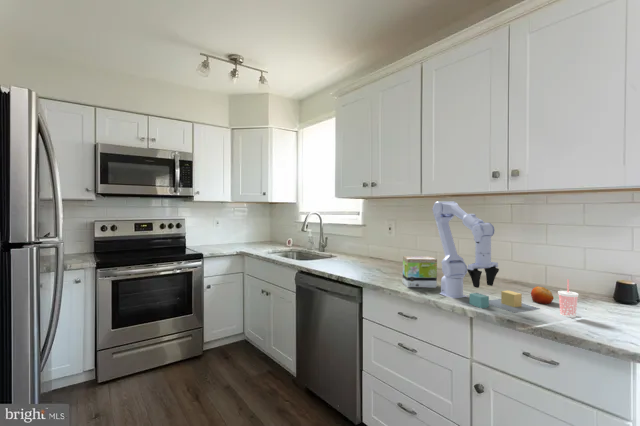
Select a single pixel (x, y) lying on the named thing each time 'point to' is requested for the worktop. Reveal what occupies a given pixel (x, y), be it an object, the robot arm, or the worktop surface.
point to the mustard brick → (511, 298)
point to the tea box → (419, 271)
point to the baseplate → (512, 309)
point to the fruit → (541, 295)
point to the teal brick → (479, 300)
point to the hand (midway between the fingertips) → (483, 286)
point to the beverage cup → (568, 302)
